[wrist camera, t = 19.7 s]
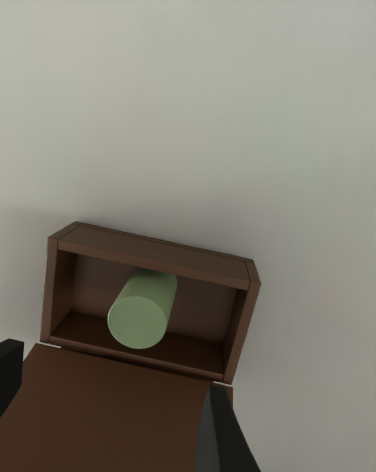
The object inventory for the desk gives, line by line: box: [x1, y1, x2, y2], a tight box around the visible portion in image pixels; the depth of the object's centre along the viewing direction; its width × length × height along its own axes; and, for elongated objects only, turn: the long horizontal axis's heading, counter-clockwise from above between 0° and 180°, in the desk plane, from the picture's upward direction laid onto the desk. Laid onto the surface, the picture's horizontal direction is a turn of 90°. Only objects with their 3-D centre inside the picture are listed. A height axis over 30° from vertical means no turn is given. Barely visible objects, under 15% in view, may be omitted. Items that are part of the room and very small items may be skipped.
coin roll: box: [108, 267, 177, 349], centre depth 19 cm, size 3×3×5 cm
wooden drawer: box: [40, 222, 261, 385], centre depth 20 cm, size 7×12×4 cm, turn 79°
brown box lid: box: [0, 343, 233, 472], centre depth 17 cm, size 7×12×4 cm
